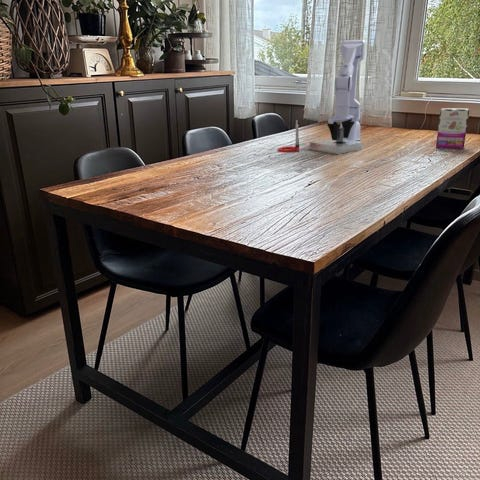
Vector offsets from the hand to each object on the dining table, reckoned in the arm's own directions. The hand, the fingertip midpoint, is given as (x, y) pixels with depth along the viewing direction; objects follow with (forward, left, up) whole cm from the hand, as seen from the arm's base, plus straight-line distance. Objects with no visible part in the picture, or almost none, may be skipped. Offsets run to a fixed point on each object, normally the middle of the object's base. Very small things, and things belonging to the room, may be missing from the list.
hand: (340, 139), depth 200 cm
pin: (0, 0, -5) cm, 5 cm away
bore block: (0, -2, -5) cm, 5 cm away
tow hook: (+16, -15, -5) cm, 23 cm away
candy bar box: (-36, +31, -5) cm, 48 cm away
